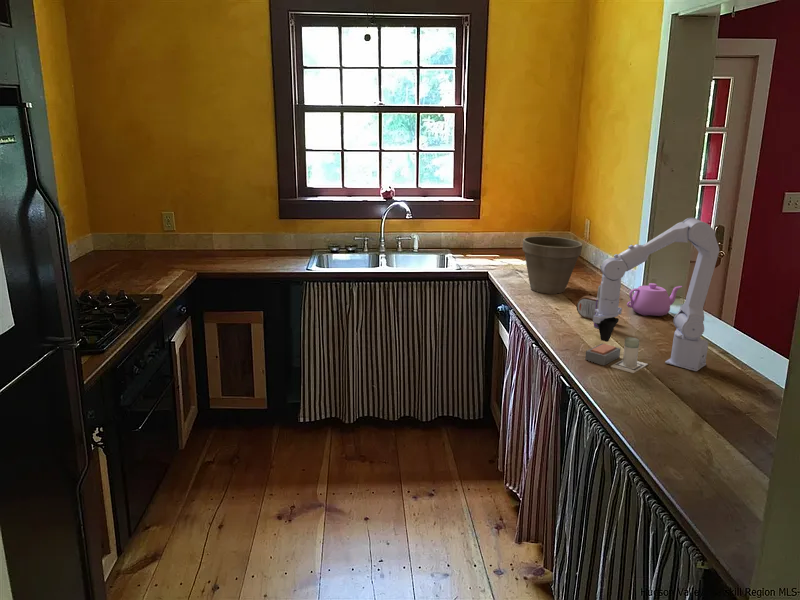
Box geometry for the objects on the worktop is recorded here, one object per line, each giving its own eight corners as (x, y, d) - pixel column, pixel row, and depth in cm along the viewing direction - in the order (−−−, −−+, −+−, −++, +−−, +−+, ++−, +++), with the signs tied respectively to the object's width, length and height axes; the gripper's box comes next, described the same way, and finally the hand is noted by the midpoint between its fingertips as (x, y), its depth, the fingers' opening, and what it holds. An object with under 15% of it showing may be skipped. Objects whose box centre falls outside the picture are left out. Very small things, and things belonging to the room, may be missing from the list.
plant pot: (589, 292, 277) (595, 243, 271) (550, 300, 264) (554, 248, 258) (546, 280, 297) (550, 234, 291) (507, 287, 283) (510, 238, 277)
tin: (615, 323, 235) (618, 301, 233) (611, 325, 233) (614, 302, 231) (578, 314, 245) (580, 293, 243) (574, 316, 243) (576, 294, 241)
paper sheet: (647, 364, 195) (647, 363, 195) (633, 373, 188) (633, 372, 188) (625, 358, 200) (626, 357, 199) (610, 366, 193) (610, 365, 193)
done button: (615, 352, 200) (615, 346, 200) (602, 358, 195) (603, 352, 194) (603, 349, 203) (603, 343, 202) (590, 355, 197) (591, 349, 197)
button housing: (619, 357, 201) (620, 348, 200) (603, 365, 193) (605, 356, 193) (601, 352, 205) (602, 343, 204) (585, 360, 198) (586, 350, 197)
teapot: (631, 317, 243) (635, 287, 240) (620, 307, 256) (624, 278, 253) (685, 319, 243) (689, 288, 239) (671, 309, 255) (675, 280, 252)
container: (596, 324, 233) (601, 284, 229) (609, 327, 231) (614, 286, 227) (591, 327, 230) (595, 286, 226) (604, 330, 227) (608, 289, 223)
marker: (636, 363, 195) (639, 338, 193) (636, 367, 191) (639, 342, 189) (622, 361, 196) (625, 336, 194) (622, 366, 193) (624, 341, 190)
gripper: (608, 291, 202) (604, 332, 205) (585, 299, 191) (581, 342, 195) (629, 295, 197) (625, 337, 200) (607, 304, 187) (602, 348, 190)
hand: (604, 340), depth 197 cm, fingers closed
